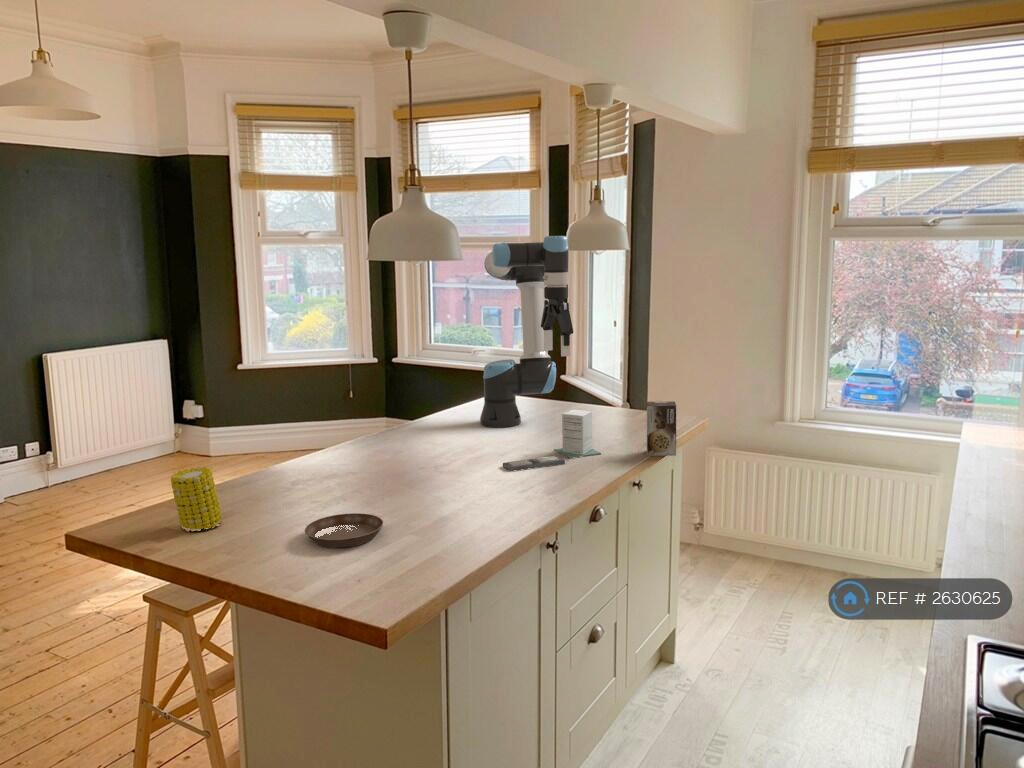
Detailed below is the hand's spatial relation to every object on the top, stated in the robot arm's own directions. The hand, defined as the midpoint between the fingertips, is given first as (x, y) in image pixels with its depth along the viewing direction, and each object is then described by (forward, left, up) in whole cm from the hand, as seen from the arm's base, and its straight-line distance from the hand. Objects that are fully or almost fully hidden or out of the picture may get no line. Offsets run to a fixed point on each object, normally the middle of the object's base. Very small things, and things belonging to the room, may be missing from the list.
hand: (556, 353), depth 249 cm
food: (+27, -109, -31) cm, 117 cm away
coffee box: (+20, +26, -31) cm, 46 cm away
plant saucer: (+49, -78, -32) cm, 98 cm away
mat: (+7, +3, -31) cm, 32 cm away
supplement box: (+7, +3, -31) cm, 32 cm away
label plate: (+15, -15, -31) cm, 38 cm away
